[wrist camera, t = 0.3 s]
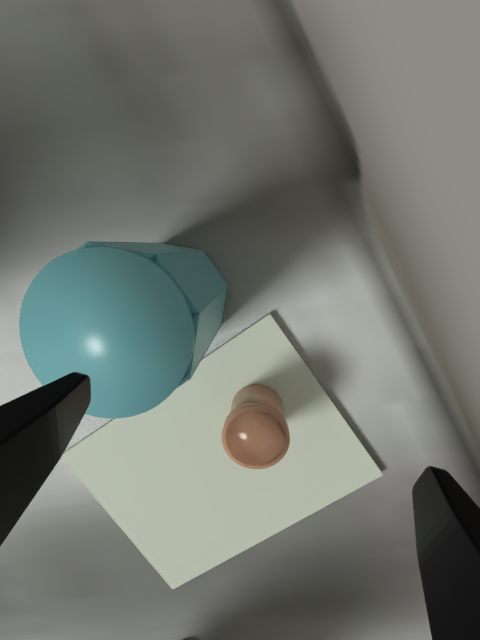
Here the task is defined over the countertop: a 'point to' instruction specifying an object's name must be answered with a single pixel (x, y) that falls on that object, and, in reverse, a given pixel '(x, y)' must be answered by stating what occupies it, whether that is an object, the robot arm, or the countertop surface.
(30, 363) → the teal rounded cylinder
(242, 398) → the terracotta pot
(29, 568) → the countertop surface
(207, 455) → the sage mat
